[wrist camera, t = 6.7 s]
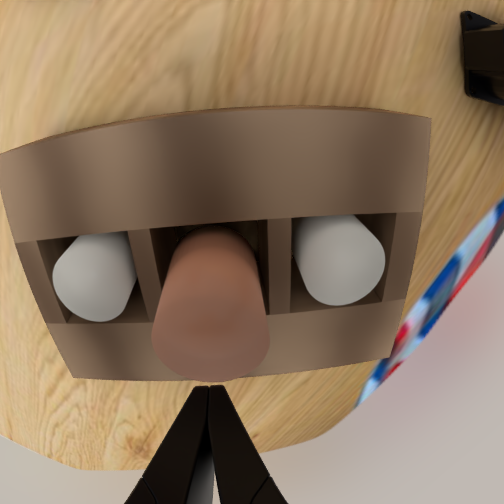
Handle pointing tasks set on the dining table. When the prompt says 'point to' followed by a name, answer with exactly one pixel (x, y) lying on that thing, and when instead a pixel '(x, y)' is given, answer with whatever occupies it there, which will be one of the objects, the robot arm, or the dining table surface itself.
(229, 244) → the terracotta plug
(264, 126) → the walnut socket block
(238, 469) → the robot arm
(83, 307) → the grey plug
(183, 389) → the dining table surface
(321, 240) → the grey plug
